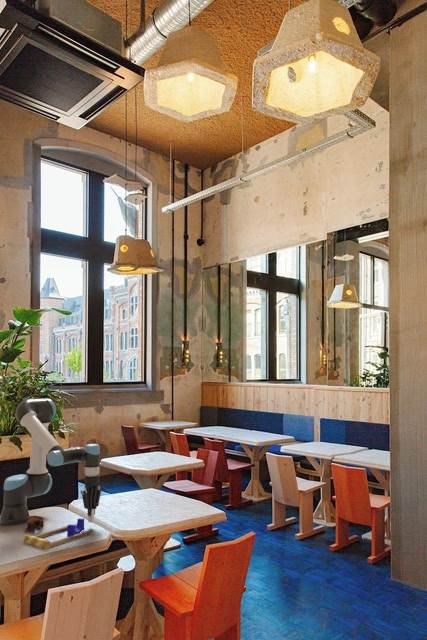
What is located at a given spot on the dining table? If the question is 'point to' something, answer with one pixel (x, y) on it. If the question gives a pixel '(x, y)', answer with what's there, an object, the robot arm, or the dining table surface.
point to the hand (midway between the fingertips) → (91, 521)
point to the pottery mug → (34, 524)
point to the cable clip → (75, 527)
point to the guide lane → (47, 544)
